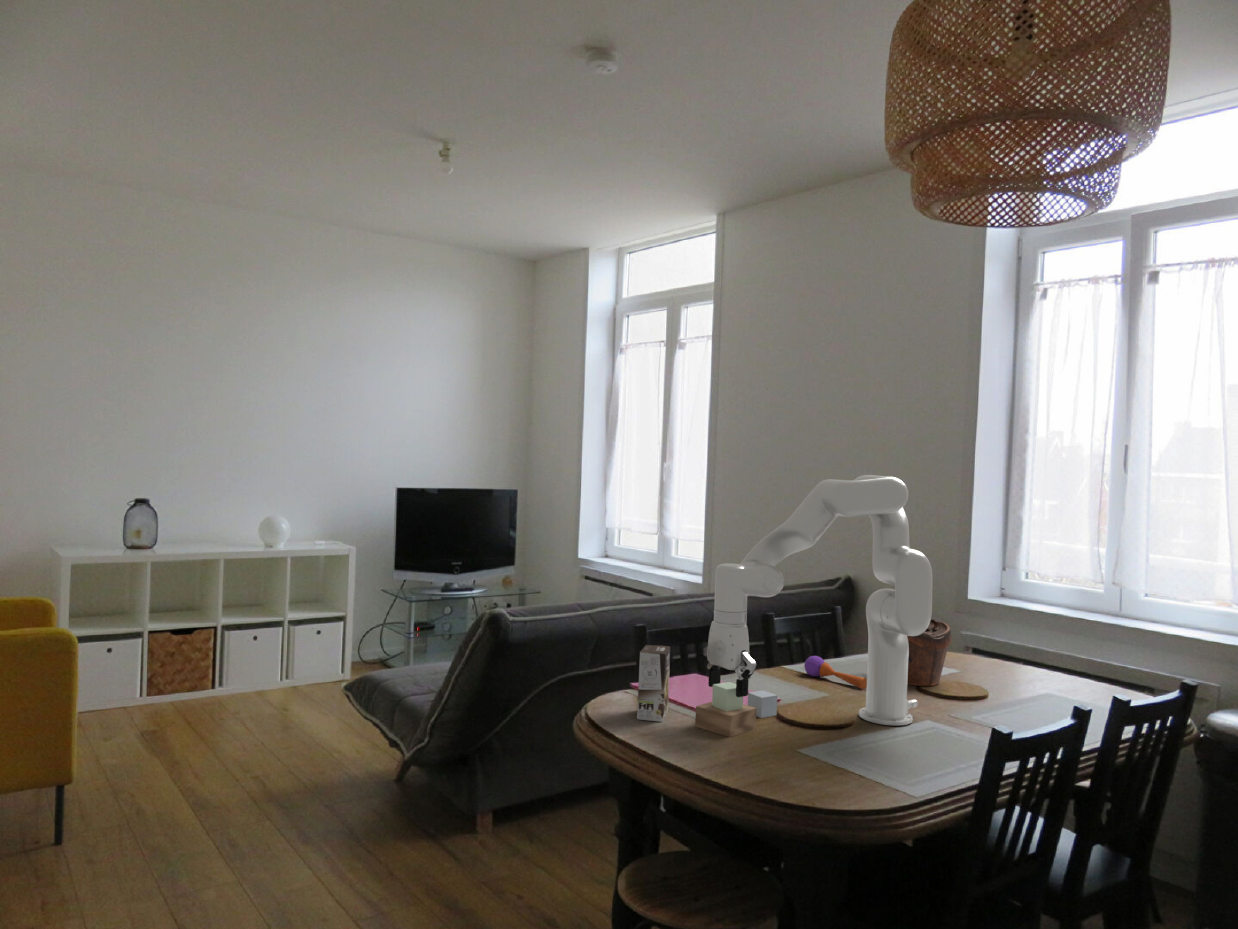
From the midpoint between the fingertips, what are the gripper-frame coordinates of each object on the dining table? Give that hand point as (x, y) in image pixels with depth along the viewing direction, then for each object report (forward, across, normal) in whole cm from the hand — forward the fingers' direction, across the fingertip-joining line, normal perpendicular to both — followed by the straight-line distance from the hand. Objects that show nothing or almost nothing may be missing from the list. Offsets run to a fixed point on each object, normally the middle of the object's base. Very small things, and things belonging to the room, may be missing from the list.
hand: (727, 691), depth 206 cm
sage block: (+4, 0, 0) cm, 4 cm away
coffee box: (+8, -15, -10) cm, 20 cm away
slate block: (+9, -4, +15) cm, 18 cm away
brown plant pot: (+9, -8, +79) cm, 80 cm away
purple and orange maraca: (+9, -18, +56) cm, 59 cm away
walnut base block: (+9, 0, 0) cm, 9 cm away
